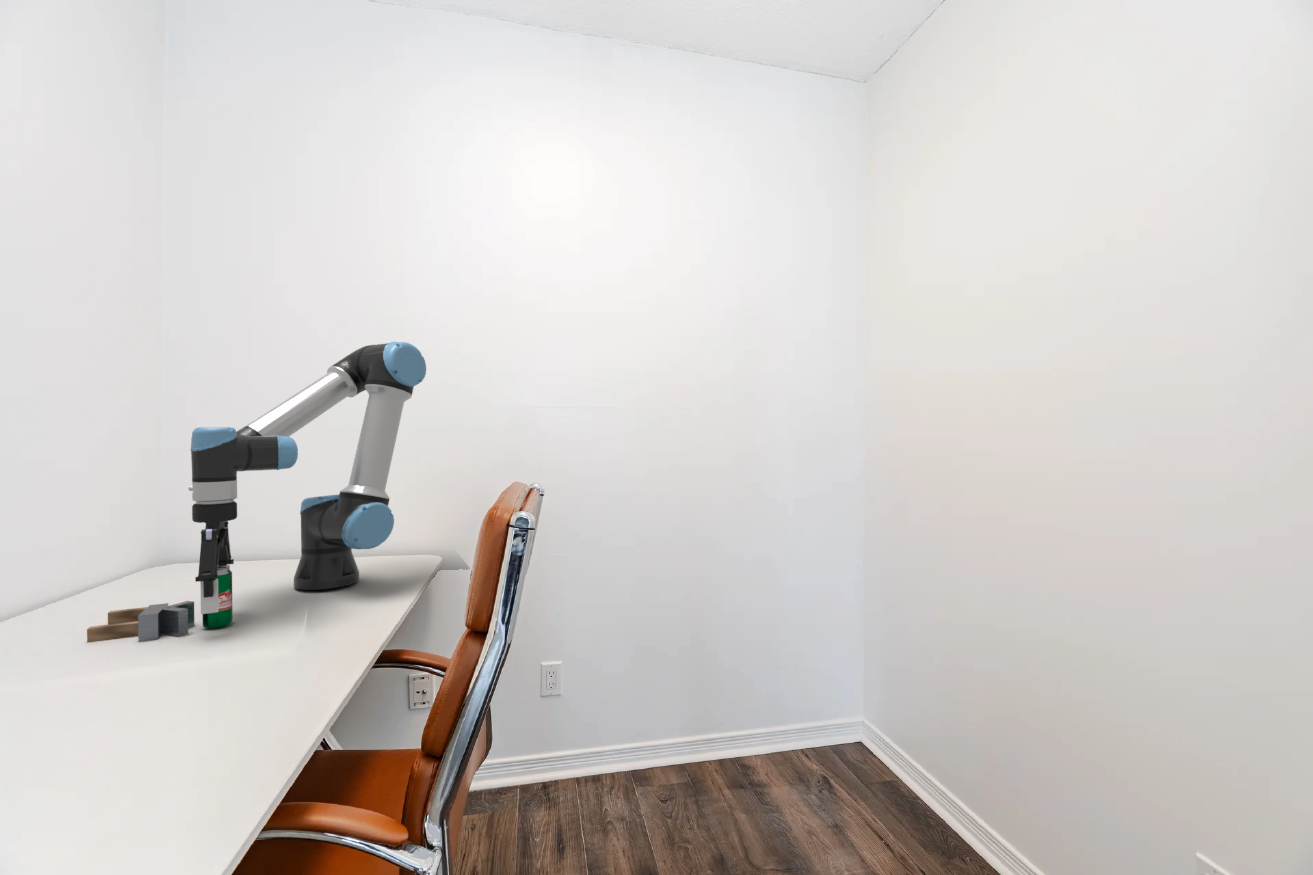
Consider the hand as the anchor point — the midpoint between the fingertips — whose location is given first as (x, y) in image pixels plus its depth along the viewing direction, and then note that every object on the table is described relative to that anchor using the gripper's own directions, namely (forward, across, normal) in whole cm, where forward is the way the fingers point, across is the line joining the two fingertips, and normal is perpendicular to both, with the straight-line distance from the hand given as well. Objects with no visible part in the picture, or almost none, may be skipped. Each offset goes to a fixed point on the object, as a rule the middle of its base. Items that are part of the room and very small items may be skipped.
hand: (216, 604), depth 125 cm
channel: (+5, -7, -16) cm, 18 cm away
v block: (+5, 0, -5) cm, 7 cm away
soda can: (+5, 0, 0) cm, 5 cm away
